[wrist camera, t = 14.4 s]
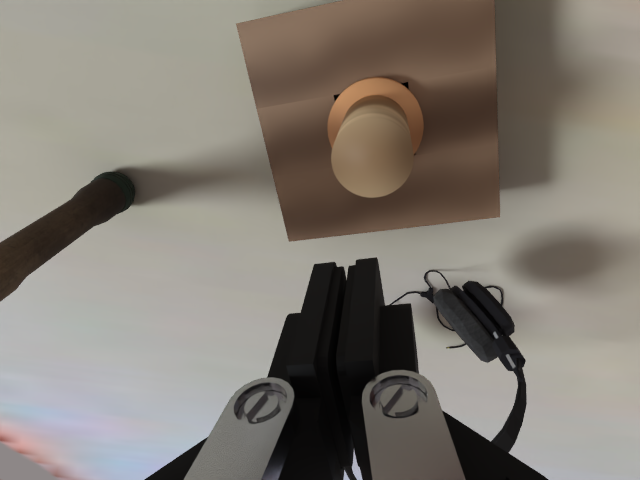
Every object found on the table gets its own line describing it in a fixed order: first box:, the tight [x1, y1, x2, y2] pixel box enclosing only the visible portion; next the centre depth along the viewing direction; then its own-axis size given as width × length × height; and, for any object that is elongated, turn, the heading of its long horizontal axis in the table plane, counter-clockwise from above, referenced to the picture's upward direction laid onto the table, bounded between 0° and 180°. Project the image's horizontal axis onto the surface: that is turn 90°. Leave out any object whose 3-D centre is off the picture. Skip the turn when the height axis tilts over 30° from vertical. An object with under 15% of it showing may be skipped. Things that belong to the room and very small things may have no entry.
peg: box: [328, 77, 424, 198], centre depth 30 cm, size 6×6×13 cm
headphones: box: [344, 271, 526, 480], centre depth 35 cm, size 15×11×20 cm
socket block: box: [236, 0, 500, 241], centre depth 34 cm, size 16×16×5 cm
